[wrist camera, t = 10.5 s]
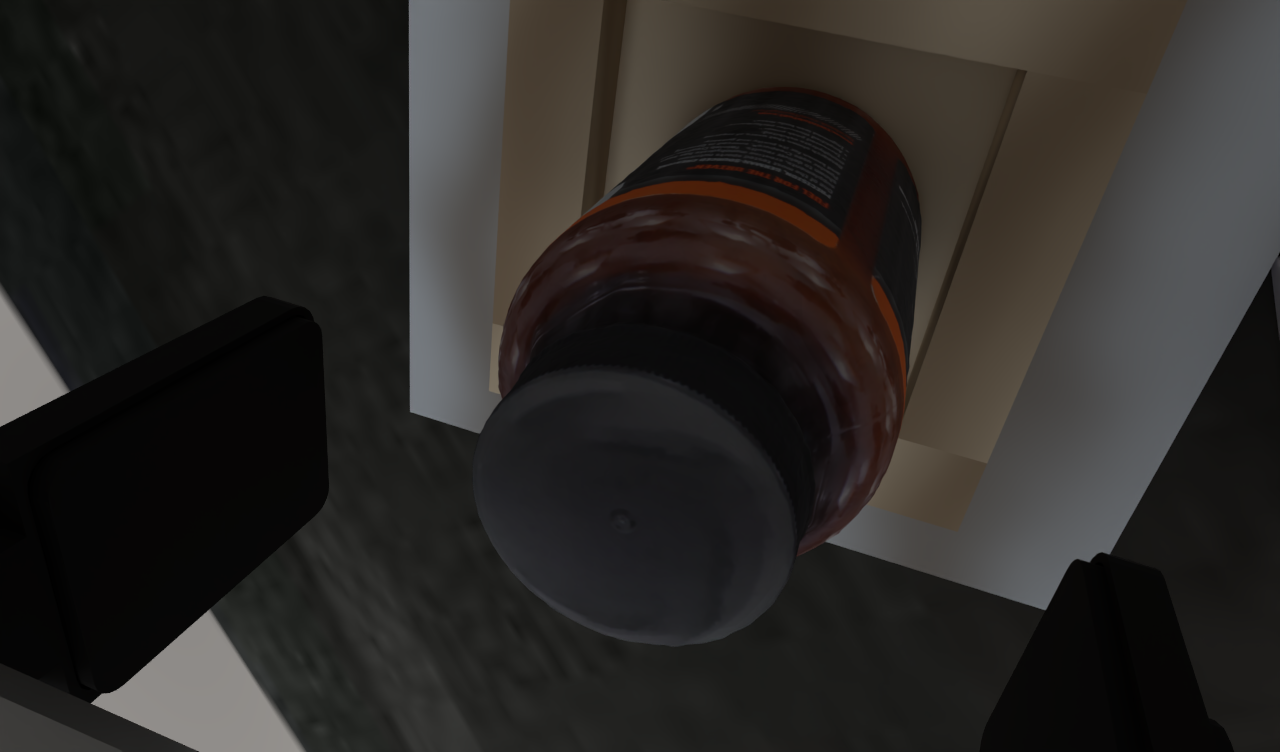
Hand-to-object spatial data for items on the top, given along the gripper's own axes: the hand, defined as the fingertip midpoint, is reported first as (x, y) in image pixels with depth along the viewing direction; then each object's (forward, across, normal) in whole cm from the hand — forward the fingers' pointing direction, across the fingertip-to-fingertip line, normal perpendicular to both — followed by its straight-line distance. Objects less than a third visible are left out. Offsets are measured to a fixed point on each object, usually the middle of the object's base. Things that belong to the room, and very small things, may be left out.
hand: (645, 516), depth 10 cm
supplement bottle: (+11, 0, -1) cm, 11 cm away
